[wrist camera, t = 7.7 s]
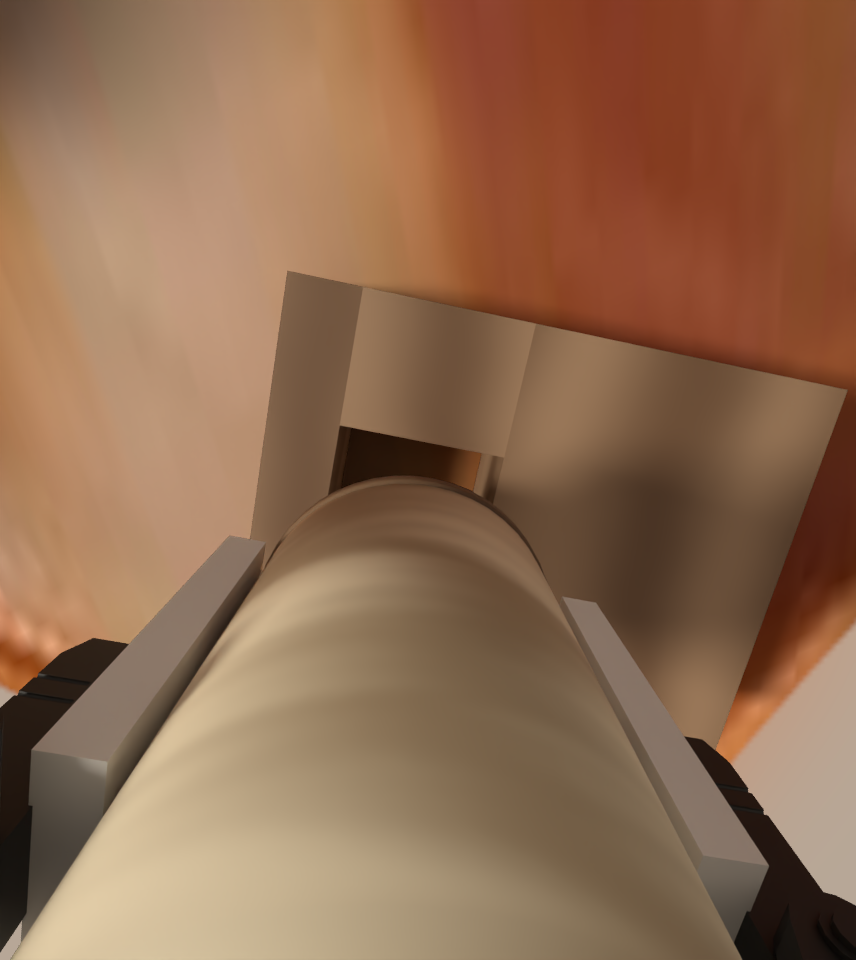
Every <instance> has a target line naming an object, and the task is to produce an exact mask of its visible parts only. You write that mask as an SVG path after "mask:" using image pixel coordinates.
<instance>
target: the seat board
mask: <svg viewBox="0 0 856 960" xmlns="http://www.w3.org/2000/svg"><path fill="white" fill-rule="evenodd" d="M847 391H848V390H846V389H841V388H836V387H831V386H827V385H822V384H817V383H813V382H808V381H803V380H799V379H794V378H789V377H784V376H780V375H775V374H770V373H766V372H761V371H756V370H752V369H747V368H742V367H737V366H733V365H728V364H723V363H719V362H714V361H709V360H704V359H700V358H695V357H690V356H686V355H681V354H676V353H672V352H667V351H662V350H657V349H653V348H648V347H643V346H639V345H634V344H629V343H625V342H620V341H615V340H610V339H606V338H601V337H596V336H592V335H587V334H582V333H578V332H573V331H568V330H563V329H559V328H554V327H549V326H545V325H540V324H535V323H531V322H526V321H521V320H516V319H512V318H507V317H502V316H498V315H493V314H488V313H484V312H479V311H474V310H469V309H465V308H460V307H455V306H451V305H446V304H441V303H437V302H432V301H427V300H422V299H418V298H413V297H408V296H404V295H399V294H394V293H390V292H385V291H380V290H375V289H371V288H366V287H361V286H357V285H352V284H347V283H343V282H338V281H333V280H328V279H324V278H319V277H314V276H310V275H305V274H300V273H296V272H291V271H287V278H286V285H285V292H284V299H283V306H282V313H281V321H280V328H279V335H278V342H277V349H276V356H275V364H274V371H273V378H272V385H271V392H270V399H269V407H268V414H267V421H266V428H265V435H264V442H263V450H262V457H261V464H260V471H259V478H258V485H257V493H256V500H255V507H254V514H253V521H252V528H251V536H250V539H251V540H257V541H262V542H266V546H265V553H264V560H263V566H262V571H263V570H264V568H265V565H266V563H267V561H268V559H269V558H270V556H271V554H272V552H273V550H274V548H275V547H276V545H277V544H278V542H279V541H280V539H281V538H282V537H283V535H284V534H285V533H286V531H287V530H288V529H289V527H290V526H291V525H292V524H293V523H294V522H295V521H296V520H297V519H298V518H299V517H300V516H301V515H302V514H303V513H304V512H305V511H306V510H307V509H309V508H310V507H311V506H313V505H314V504H315V503H317V502H318V501H319V500H321V499H323V498H324V497H326V496H328V495H330V494H331V493H333V492H335V491H337V490H339V489H341V485H342V479H343V473H344V468H345V462H346V456H347V450H348V445H349V439H350V433H351V428H356V429H361V430H366V431H371V432H376V433H382V434H387V435H392V436H397V437H402V438H407V439H412V440H417V441H422V442H427V443H432V444H437V445H443V446H448V447H453V448H458V449H463V450H468V451H473V452H478V453H482V455H481V459H480V463H479V468H478V472H477V476H476V481H475V485H474V490H473V492H474V493H476V494H478V495H479V496H481V497H483V498H485V499H486V500H488V501H489V502H491V503H492V504H493V505H495V506H496V507H497V508H499V509H500V510H501V511H502V512H503V513H504V514H505V515H506V516H507V517H508V518H509V519H510V520H511V521H513V522H514V523H515V524H516V526H517V527H518V528H519V530H520V531H521V532H522V534H523V535H524V536H525V538H526V539H527V541H528V542H529V544H530V546H531V548H532V549H533V551H534V553H535V555H536V557H537V559H538V560H539V562H540V565H541V567H542V570H543V572H544V575H545V578H546V580H547V583H548V585H549V587H550V589H551V591H552V593H553V595H554V596H555V598H556V600H557V602H558V604H559V606H560V602H561V598H562V597H568V598H573V599H579V600H584V601H589V602H595V603H597V605H598V607H599V608H600V610H601V611H602V613H603V614H604V616H605V617H606V619H607V620H608V622H609V623H610V625H611V626H612V628H613V629H614V631H615V632H616V634H617V635H618V637H619V638H620V640H621V641H622V643H623V645H624V646H625V648H626V649H627V651H628V652H629V654H630V655H631V657H632V658H633V660H634V661H635V663H636V664H637V666H638V667H639V669H640V670H641V672H642V673H643V675H644V676H645V678H646V679H647V681H648V683H649V684H650V686H651V687H652V689H653V690H654V692H655V693H656V695H657V696H658V698H659V699H660V701H661V702H662V704H663V705H664V707H665V708H666V710H667V711H668V713H669V714H670V716H671V717H672V719H673V720H674V722H675V724H676V725H677V727H678V728H679V730H680V731H681V733H682V734H683V736H686V737H692V738H698V739H703V740H704V741H705V742H706V743H707V744H708V745H710V746H711V747H712V748H713V749H714V750H716V747H717V744H718V742H719V739H720V736H721V734H722V731H723V728H724V725H725V723H726V720H727V717H728V715H729V712H730V709H731V706H732V704H733V701H734V698H735V695H736V693H737V690H738V687H739V685H740V682H741V679H742V676H743V674H744V671H745V668H746V666H747V663H748V660H749V657H750V655H751V652H752V649H753V647H754V644H755V641H756V638H757V636H758V633H759V630H760V627H761V625H762V622H763V619H764V617H765V614H766V611H767V608H768V606H769V603H770V600H771V598H772V595H773V592H774V589H775V587H776V584H777V581H778V579H779V576H780V573H781V570H782V568H783V565H784V562H785V559H786V557H787V554H788V551H789V549H790V546H791V543H792V540H793V538H794V535H795V532H796V530H797V527H798V524H799V521H800V519H801V516H802V513H803V510H804V508H805V505H806V502H807V500H808V497H809V494H810V491H811V489H812V486H813V483H814V481H815V478H816V475H817V472H818V470H819V467H820V464H821V462H822V459H823V456H824V453H825V451H826V448H827V445H828V442H829V440H830V437H831V434H832V432H833V429H834V426H835V423H836V421H837V418H838V415H839V413H840V410H841V407H842V404H843V402H844V399H845V396H846V393H847Z"/></svg>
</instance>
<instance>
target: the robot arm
mask: <svg viewBox="0 0 856 960" xmlns="http://www.w3.org/2000/svg"><path fill="white" fill-rule="evenodd" d="M265 546H266V542H262V541H257V540H251V539H246V538H240V537H235V536H229V537H228V538H227V539H226V540H225V541H224V542H223V543H222V544H221V545H220V546H219V548H218V549H217V550H216V551H215V552H214V553H213V554H212V555H211V556H210V557H209V558H208V559H207V561H206V562H205V563H204V564H203V565H202V566H201V567H200V568H199V569H198V570H197V571H196V572H195V573H194V575H193V576H192V577H191V578H190V579H189V580H188V581H187V582H186V583H185V584H184V585H183V586H182V588H181V589H180V590H179V591H178V592H177V593H176V594H175V595H174V596H173V597H172V598H171V599H170V601H169V602H168V603H167V604H166V605H165V606H164V607H163V608H162V609H161V610H160V611H159V612H158V613H157V615H156V616H155V617H154V618H153V619H152V620H151V621H150V622H149V623H148V624H147V625H146V626H145V628H144V629H143V630H142V631H141V632H140V633H139V634H138V635H137V636H136V637H135V638H134V639H133V641H132V642H131V643H130V644H126V643H120V642H114V641H108V640H102V639H96V638H93V639H91V640H88V641H86V642H84V643H82V644H80V645H77V646H75V647H73V648H71V649H69V650H66V651H64V652H62V653H61V654H59V655H58V656H57V657H56V658H55V659H54V660H53V661H52V662H51V663H49V664H48V665H47V666H46V667H45V668H44V669H43V670H42V671H41V672H39V674H38V677H37V678H33V679H32V680H31V681H29V682H28V683H27V684H26V685H25V686H24V687H23V688H22V689H21V690H19V693H18V695H17V696H15V695H14V696H13V697H12V698H11V699H10V700H8V701H7V702H6V703H5V704H4V705H3V706H2V707H1V708H0V952H1V950H2V949H3V947H4V946H5V945H6V943H7V941H8V940H9V939H10V937H11V936H12V934H13V933H14V931H15V930H16V928H17V927H18V925H19V924H20V922H21V921H22V933H21V942H22V941H23V939H24V937H25V936H26V934H27V933H28V931H29V930H30V928H31V927H32V925H33V924H34V922H35V921H36V919H37V917H38V916H39V914H40V913H41V911H42V910H43V908H44V907H45V905H46V904H47V902H48V901H49V899H50V897H51V896H52V894H53V893H54V891H55V890H56V888H57V887H58V885H59V884H60V882H61V881H62V879H63V877H64V876H65V874H66V873H67V871H68V870H69V868H70V867H71V865H72V864H73V862H74V861H75V859H76V857H77V856H78V854H79V853H80V851H81V850H82V848H83V847H84V845H85V844H86V842H87V841H88V839H89V837H90V836H91V834H92V833H93V831H94V830H95V828H96V827H97V825H98V824H99V822H100V821H101V819H102V817H103V816H104V814H105V813H106V811H107V810H108V808H109V807H110V805H111V804H112V802H113V801H114V799H115V797H116V796H117V794H118V793H119V791H120V790H121V788H122V787H123V785H124V784H125V782H126V781H127V779H128V777H129V776H130V774H131V773H132V771H133V770H134V768H135V767H136V765H137V764H138V762H139V760H140V759H141V757H142V756H143V754H144V753H145V751H146V750H147V748H148V747H149V745H150V744H151V742H152V740H153V739H154V737H155V736H156V734H157V733H158V731H159V730H160V728H161V727H162V725H163V724H164V722H165V720H166V719H167V717H168V716H169V714H170V713H171V711H172V710H173V708H174V707H175V705H176V704H177V702H178V700H179V699H180V697H181V696H182V694H183V693H184V691H185V690H186V688H187V687H188V685H189V684H190V682H191V680H192V679H193V677H194V676H195V674H196V673H197V671H198V670H199V668H200V667H201V665H202V664H203V662H204V660H205V659H206V657H207V656H208V654H209V653H210V651H211V650H212V648H213V647H214V645H215V644H216V642H217V640H218V639H219V637H220V636H221V634H222V633H223V631H224V630H225V628H226V627H227V625H228V624H229V622H230V620H231V619H232V617H233V616H234V614H235V613H236V611H237V610H238V608H239V607H240V605H241V604H242V602H243V600H244V599H245V597H246V596H247V594H248V593H249V591H250V590H251V588H252V587H253V585H254V584H255V582H256V580H257V579H258V577H259V576H260V574H261V573H262V566H263V560H264V553H265ZM560 608H561V610H562V612H563V614H564V616H565V618H566V620H567V622H568V624H569V625H570V627H571V629H572V631H573V633H574V635H575V637H576V639H577V641H578V643H579V645H580V647H581V649H582V651H583V653H584V654H585V656H586V658H587V660H588V662H589V664H590V666H591V668H592V670H593V672H594V674H595V676H596V678H597V680H598V682H599V683H600V685H601V687H602V689H603V691H604V693H605V695H606V697H607V699H608V701H609V703H610V705H611V707H612V709H613V711H614V713H615V714H616V716H617V718H618V720H619V722H620V724H621V726H622V728H623V730H624V732H625V734H626V736H627V738H628V740H629V742H630V743H631V745H632V747H633V749H634V751H635V753H636V755H637V757H638V759H639V761H640V763H641V765H642V767H643V769H644V771H645V772H646V774H647V776H648V778H649V780H650V782H651V784H652V786H653V788H654V790H655V792H656V794H657V796H658V798H659V800H660V801H661V803H662V805H663V807H664V809H665V811H666V813H667V815H668V817H669V819H670V821H671V823H672V825H673V827H674V829H675V830H676V832H677V834H678V836H679V838H680V840H681V842H682V844H683V846H684V848H685V850H686V852H687V854H688V856H689V858H690V859H691V861H692V863H693V865H694V867H695V869H696V871H697V873H698V875H699V877H700V879H701V881H702V883H703V885H704V887H705V888H706V890H707V892H708V894H709V896H710V898H711V900H712V902H713V904H714V906H715V908H716V910H717V912H718V914H719V916H720V917H721V919H722V921H723V923H724V925H725V927H726V929H727V931H728V933H729V935H730V937H731V939H732V941H733V943H734V945H735V946H736V948H737V950H738V952H739V954H740V956H741V958H742V960H856V906H855V905H853V904H852V903H850V902H848V901H845V900H844V899H842V898H840V897H837V896H836V895H832V894H828V893H824V892H823V891H822V890H821V888H820V887H819V886H818V884H817V883H816V881H815V880H814V879H813V877H812V876H811V875H810V873H809V872H808V870H807V869H806V868H805V866H804V865H803V864H802V862H801V861H800V859H799V858H798V856H797V855H796V854H795V852H794V851H793V850H792V848H791V847H790V846H789V844H788V843H787V841H786V840H785V839H784V837H783V836H782V834H781V833H780V832H779V830H778V829H777V827H776V826H775V825H774V823H773V822H772V821H771V819H770V818H769V816H767V815H764V813H763V811H764V810H763V808H762V807H761V806H760V804H759V803H758V801H757V800H756V799H755V797H754V796H753V794H751V793H748V788H747V786H746V785H745V783H744V782H743V781H742V779H741V778H740V776H739V775H738V774H737V772H736V771H735V769H734V768H733V767H732V765H731V764H730V763H729V762H728V761H727V760H726V759H725V758H724V757H722V756H721V755H720V754H719V753H718V752H717V751H715V750H714V749H713V748H712V747H711V746H710V745H708V744H707V743H706V742H705V741H704V740H703V739H698V738H692V737H686V736H683V734H682V733H681V731H680V730H679V728H678V727H677V725H676V724H675V722H674V720H673V719H672V717H671V716H670V714H669V713H668V711H667V710H666V708H665V707H664V705H663V704H662V702H661V701H660V699H659V698H658V696H657V695H656V693H655V692H654V690H653V689H652V687H651V686H650V684H649V683H648V681H647V679H646V678H645V676H644V675H643V673H642V672H641V670H640V669H639V667H638V666H637V664H636V663H635V661H634V660H633V658H632V657H631V655H630V654H629V652H628V651H627V649H626V648H625V646H624V645H623V643H622V641H621V640H620V638H619V637H618V635H617V634H616V632H615V631H614V629H613V628H612V626H611V625H610V623H609V622H608V620H607V619H606V617H605V616H604V614H603V613H602V611H601V610H600V608H599V607H598V605H597V603H595V602H589V601H584V600H579V599H573V598H568V597H562V598H561V602H560Z"/></svg>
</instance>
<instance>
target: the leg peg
mask: <svg viewBox="0 0 856 960" xmlns="http://www.w3.org/2000/svg"><path fill="white" fill-rule="evenodd" d="M10 960H742V958H741V956H740V954H739V952H738V950H737V948H736V946H735V945H734V943H733V941H732V939H731V937H730V935H729V933H728V931H727V929H726V927H725V925H724V923H723V921H722V919H721V917H720V916H719V914H718V912H717V910H716V908H715V906H714V904H713V902H712V900H711V898H710V896H709V894H708V892H707V890H706V888H705V887H704V885H703V883H702V881H701V879H700V877H699V875H698V873H697V871H696V869H695V867H694V865H693V863H692V861H691V859H690V858H689V856H688V854H687V852H686V850H685V848H684V846H683V844H682V842H681V840H680V838H679V836H678V834H677V832H676V830H675V829H674V827H673V825H672V823H671V821H670V819H669V817H668V815H667V813H666V811H665V809H664V807H663V805H662V803H661V801H660V800H659V798H658V796H657V794H656V792H655V790H654V788H653V786H652V784H651V782H650V780H649V778H648V776H647V774H646V772H645V771H644V769H643V767H642V765H641V763H640V761H639V759H638V757H637V755H636V753H635V751H634V749H633V747H632V745H631V743H630V742H629V740H628V738H627V736H626V734H625V732H624V730H623V728H622V726H621V724H620V722H619V720H618V718H617V716H616V714H615V713H614V711H613V709H612V707H611V705H610V703H609V701H608V699H607V697H606V695H605V693H604V691H603V689H602V687H601V685H600V683H599V682H598V680H597V678H596V676H595V674H594V672H593V670H592V668H591V666H590V664H589V662H588V660H587V658H586V656H585V654H584V653H583V651H582V649H581V647H580V645H579V643H578V641H577V639H576V637H575V635H574V633H573V631H572V629H571V627H570V625H569V624H568V622H567V620H566V618H565V616H564V614H563V612H562V610H561V608H560V606H559V604H558V602H557V600H556V598H555V596H554V595H553V593H552V591H551V589H550V587H549V585H548V583H547V580H546V578H545V575H544V572H543V570H542V567H541V565H540V562H539V560H538V559H537V557H536V555H535V553H534V551H533V549H532V548H531V546H530V544H529V542H528V541H527V539H526V538H525V536H524V535H523V534H522V532H521V531H520V530H519V528H518V527H517V526H516V524H515V523H514V522H513V521H511V520H510V519H509V518H508V517H507V516H506V515H505V514H504V513H503V512H502V511H501V510H500V509H499V508H497V507H496V506H495V505H493V504H492V503H491V502H489V501H488V500H486V499H485V498H483V497H481V496H479V495H478V494H476V493H474V492H472V491H470V490H468V489H466V488H463V487H461V486H458V485H456V484H453V483H450V482H446V481H442V480H438V479H435V478H428V477H420V476H387V477H379V478H372V479H369V480H365V481H361V482H357V483H354V484H351V485H349V486H346V487H344V488H342V489H339V490H337V491H335V492H333V493H331V494H330V495H328V496H326V497H324V498H323V499H321V500H319V501H318V502H317V503H315V504H314V505H313V506H311V507H310V508H309V509H307V510H306V511H305V512H304V513H303V514H302V515H301V516H300V517H299V518H298V519H297V520H296V521H295V522H294V523H293V524H292V525H291V526H290V527H289V529H288V530H287V531H286V533H285V534H284V535H283V537H282V538H281V539H280V541H279V542H278V544H277V545H276V547H275V548H274V550H273V552H272V554H271V556H270V558H269V559H268V561H267V563H266V565H265V568H264V570H263V571H262V573H261V574H260V576H259V577H258V579H257V580H256V582H255V584H254V585H253V587H252V588H251V590H250V591H249V593H248V594H247V596H246V597H245V599H244V600H243V602H242V604H241V605H240V607H239V608H238V610H237V611H236V613H235V614H234V616H233V617H232V619H231V620H230V622H229V624H228V625H227V627H226V628H225V630H224V631H223V633H222V634H221V636H220V637H219V639H218V640H217V642H216V644H215V645H214V647H213V648H212V650H211V651H210V653H209V654H208V656H207V657H206V659H205V660H204V662H203V664H202V665H201V667H200V668H199V670H198V671H197V673H196V674H195V676H194V677H193V679H192V680H191V682H190V684H189V685H188V687H187V688H186V690H185V691H184V693H183V694H182V696H181V697H180V699H179V700H178V702H177V704H176V705H175V707H174V708H173V710H172V711H171V713H170V714H169V716H168V717H167V719H166V720H165V722H164V724H163V725H162V727H161V728H160V730H159V731H158V733H157V734H156V736H155V737H154V739H153V740H152V742H151V744H150V745H149V747H148V748H147V750H146V751H145V753H144V754H143V756H142V757H141V759H140V760H139V762H138V764H137V765H136V767H135V768H134V770H133V771H132V773H131V774H130V776H129V777H128V779H127V781H126V782H125V784H124V785H123V787H122V788H121V790H120V791H119V793H118V794H117V796H116V797H115V799H114V801H113V802H112V804H111V805H110V807H109V808H108V810H107V811H106V813H105V814H104V816H103V817H102V819H101V821H100V822H99V824H98V825H97V827H96V828H95V830H94V831H93V833H92V834H91V836H90V837H89V839H88V841H87V842H86V844H85V845H84V847H83V848H82V850H81V851H80V853H79V854H78V856H77V857H76V859H75V861H74V862H73V864H72V865H71V867H70V868H69V870H68V871H67V873H66V874H65V876H64V877H63V879H62V881H61V882H60V884H59V885H58V887H57V888H56V890H55V891H54V893H53V894H52V896H51V897H50V899H49V901H48V902H47V904H46V905H45V907H44V908H43V910H42V911H41V913H40V914H39V916H38V917H37V919H36V921H35V922H34V924H33V925H32V927H31V928H30V930H29V931H28V933H27V934H26V936H25V937H24V939H23V941H22V942H21V944H20V945H19V947H18V948H17V950H16V951H15V953H14V955H13V956H12V958H11V959H10Z"/></svg>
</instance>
